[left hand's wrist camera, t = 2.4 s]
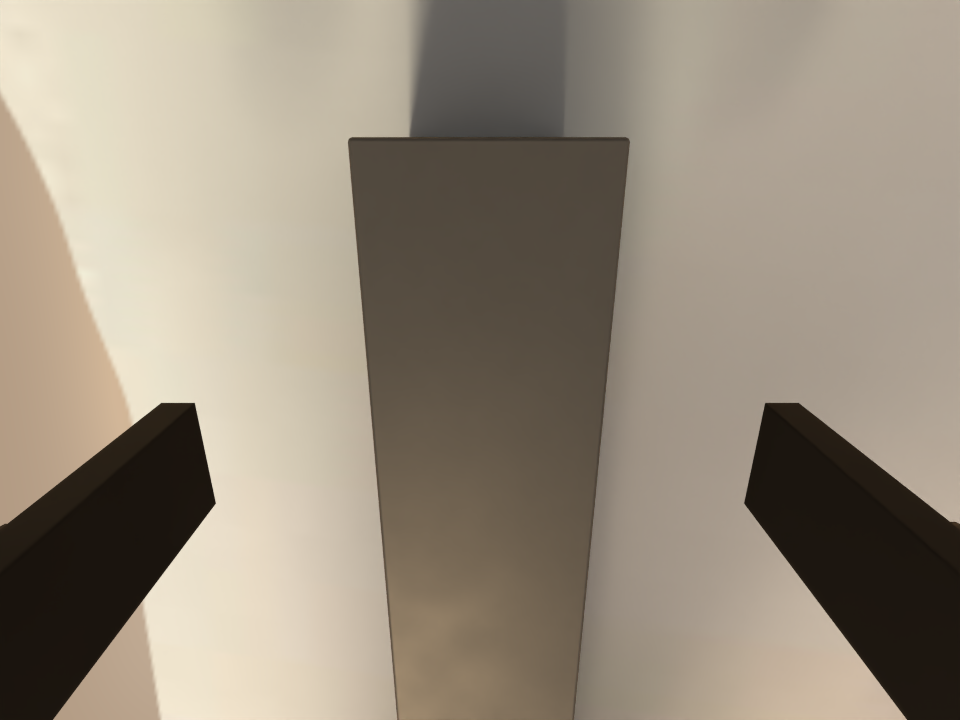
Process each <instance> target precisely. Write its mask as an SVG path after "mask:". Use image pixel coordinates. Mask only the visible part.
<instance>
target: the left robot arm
mask: <svg viewBox="0 0 960 720" xmlns="http://www.w3.org/2000/svg"><path fill="white" fill-rule="evenodd" d="M215 504H216V502H215V497H214V493H213V488H212V483H211V478H210V474H209V469H208V464H207V459H206V455H205V450H204V445H203V440H202V436H201V431H200V426H199V421H198V416H197V412H196V407H195V403H161V404H160V405H158V406H157V407H156V408H154V409H153V410H152V411H151V412H149V413H148V414H147V415H146V416H144V417H143V418H142V419H140V420H139V421H138V422H137V423H135V424H134V425H133V426H132V427H130V428H129V429H128V430H126V431H125V432H124V433H123V434H121V435H120V436H119V437H118V438H116V439H115V440H114V441H112V442H111V443H110V444H109V445H107V446H106V447H105V448H104V449H102V450H101V451H100V452H99V453H97V454H96V455H95V456H93V457H92V458H91V459H90V460H88V461H87V462H86V463H84V464H83V465H82V466H81V467H79V468H78V469H77V470H76V471H74V472H73V473H72V474H70V475H69V476H68V477H67V478H65V479H64V480H63V481H62V482H60V483H59V484H58V485H56V486H55V487H54V488H53V489H51V490H50V491H49V492H48V493H46V494H45V495H44V496H42V497H41V498H40V499H39V500H37V501H36V502H35V503H33V504H32V505H31V506H30V507H28V508H27V509H26V510H25V511H23V512H22V513H21V514H20V515H18V516H17V517H16V518H14V519H13V520H12V521H11V522H9V523H8V524H4V525H2V526H0V720H53V719H54V717H55V716H56V715H57V714H58V712H59V711H60V710H61V708H62V707H63V706H64V704H65V703H66V702H67V700H68V699H69V698H70V696H71V695H72V694H73V692H74V691H75V690H76V688H77V687H78V686H79V684H80V683H81V682H82V680H83V679H84V678H85V676H86V675H87V674H88V672H89V671H90V670H91V668H92V667H93V666H94V664H95V663H96V662H97V660H98V659H99V658H100V656H101V655H102V654H103V652H104V651H105V650H106V649H107V647H108V646H109V645H110V643H111V642H112V640H113V639H114V638H115V637H116V635H117V634H118V633H119V631H120V630H121V629H122V627H123V626H124V625H125V623H126V622H127V621H128V619H129V618H130V617H131V615H132V614H133V613H134V611H135V610H136V609H137V607H138V606H139V605H140V603H141V602H142V601H143V599H144V598H145V597H146V595H147V594H148V593H149V591H150V590H151V589H152V587H153V586H154V585H155V583H156V582H157V581H158V580H159V578H160V577H161V576H162V574H163V573H164V572H165V570H166V569H167V568H168V566H169V565H170V564H171V562H172V561H173V560H174V558H175V557H176V556H177V554H178V553H179V552H180V550H181V549H182V548H183V546H184V545H185V544H186V542H187V541H188V540H189V538H190V537H191V536H192V534H193V533H194V532H195V530H196V529H197V528H198V526H199V525H200V524H201V522H202V521H203V520H204V518H205V517H206V516H207V514H208V513H209V512H210V511H211V509H212V508H213V507H214V505H215ZM744 504H745V505H746V507H747V508H748V509H749V511H750V512H751V513H752V514H753V516H754V517H755V518H756V520H757V521H758V522H759V524H760V525H761V526H762V528H763V529H764V530H765V532H766V533H767V534H768V536H769V537H770V538H771V540H772V541H773V542H774V544H775V545H776V546H777V548H778V549H779V550H780V552H781V553H782V554H783V556H784V557H785V558H786V560H787V561H788V562H789V564H790V565H791V566H792V568H793V569H794V570H795V572H796V573H797V574H798V576H799V577H800V578H801V580H802V581H803V582H804V583H805V585H806V586H807V587H808V589H809V590H810V591H811V593H812V594H813V595H814V597H815V598H816V599H817V601H818V602H819V603H820V605H821V606H822V607H823V609H824V610H825V611H826V613H827V614H828V615H829V617H830V618H831V619H832V621H833V622H834V623H835V625H836V626H837V627H838V629H839V630H840V631H841V633H842V634H843V635H844V637H845V638H846V639H847V641H848V642H849V643H850V645H851V646H852V647H853V649H854V650H855V651H856V652H857V654H858V655H859V656H860V658H861V659H862V660H863V662H864V663H865V664H866V666H867V667H868V668H869V670H870V671H871V672H872V674H873V675H874V676H875V678H876V679H877V680H878V682H879V683H880V684H881V686H882V687H883V688H884V690H885V691H886V692H887V694H888V695H889V696H890V698H891V699H892V700H893V702H894V703H895V704H896V706H897V707H898V708H899V710H900V711H901V712H902V714H903V715H904V716H905V718H906V719H907V720H960V524H959V523H957V522H949V521H948V520H947V519H946V518H944V517H943V516H942V515H941V514H939V513H938V512H937V511H935V510H934V509H933V508H932V507H930V506H929V505H928V504H927V503H925V502H924V501H923V500H921V499H920V498H919V497H918V496H916V495H915V494H914V493H913V492H911V491H910V490H909V489H907V488H906V487H905V486H904V485H902V484H901V483H900V482H898V481H897V480H896V479H895V478H893V477H892V476H891V475H890V474H888V473H887V472H886V471H884V470H883V469H882V468H881V467H879V466H878V465H877V464H876V463H874V462H873V461H872V460H870V459H869V458H868V457H867V456H865V455H864V454H863V453H862V452H860V451H859V450H858V449H856V448H855V447H854V446H853V445H851V444H850V443H849V442H848V441H846V440H845V439H844V438H842V437H841V436H840V435H839V434H837V433H836V432H835V431H834V430H832V429H831V428H830V427H828V426H827V425H826V424H825V423H823V422H822V421H821V420H820V419H818V418H817V417H816V416H814V415H813V414H812V413H811V412H809V411H808V410H807V409H806V408H804V407H803V406H802V405H800V404H799V403H765V407H764V412H763V416H762V421H761V426H760V431H759V436H758V440H757V445H756V450H755V455H754V459H753V464H752V469H751V474H750V478H749V483H748V488H747V493H746V497H745V502H744Z"/></svg>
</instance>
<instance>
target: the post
mask: <svg viewBox="0 0 960 720" xmlns="http://www.w3.org/2000/svg"><path fill="white" fill-rule="evenodd" d="M629 144H630V141H629V139H628V138H626V137H352V138H350V139H349V141H348V148H349V159H350V171H351V183H352V194H353V206H354V218H355V229H356V241H357V253H358V264H359V276H360V288H361V300H362V311H363V323H364V335H365V346H366V358H367V370H368V381H369V393H370V405H371V416H372V428H373V440H374V451H375V463H376V475H377V487H378V498H379V510H380V522H381V533H382V545H383V557H384V568H385V580H386V592H387V603H388V615H389V627H390V638H391V650H392V662H393V674H394V685H395V697H396V709H397V720H574V711H575V701H576V690H577V680H578V670H579V660H580V649H581V639H582V629H583V618H584V608H585V598H586V587H587V577H588V567H589V557H590V546H591V536H592V526H593V515H594V505H595V495H596V484H597V474H598V464H599V453H600V443H601V433H602V423H603V412H604V402H605V392H606V381H607V371H608V361H609V350H610V340H611V330H612V319H613V309H614V299H615V289H616V278H617V268H618V258H619V247H620V237H621V227H622V216H623V206H624V196H625V186H626V175H627V165H628V155H629Z"/></svg>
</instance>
